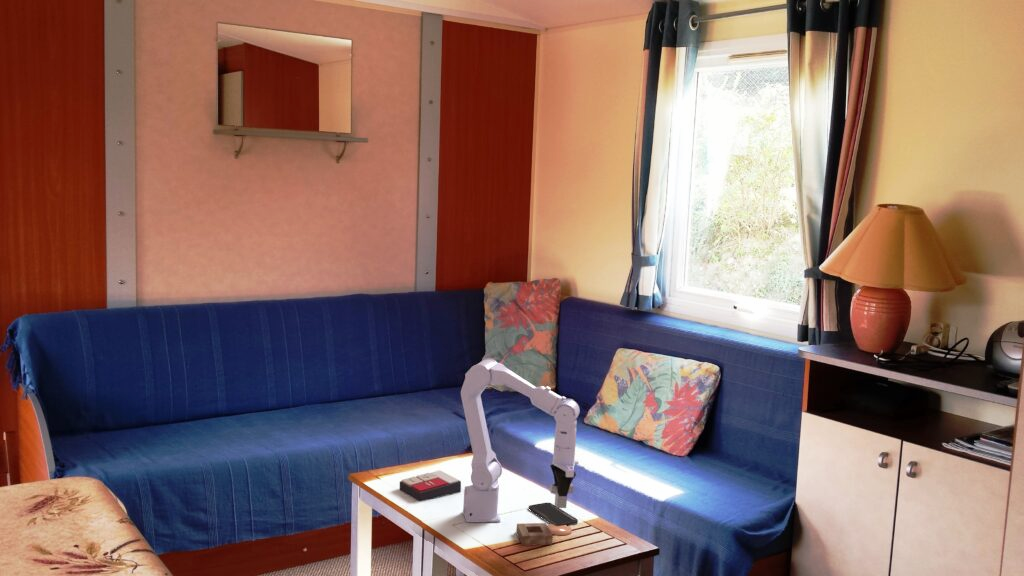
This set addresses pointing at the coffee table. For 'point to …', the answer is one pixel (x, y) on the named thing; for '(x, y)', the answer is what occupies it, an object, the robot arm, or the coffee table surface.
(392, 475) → the coffee table surface
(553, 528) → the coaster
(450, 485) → the black red flat box
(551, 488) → the t key
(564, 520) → the phone
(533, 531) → the socket block
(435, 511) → the coffee table surface
